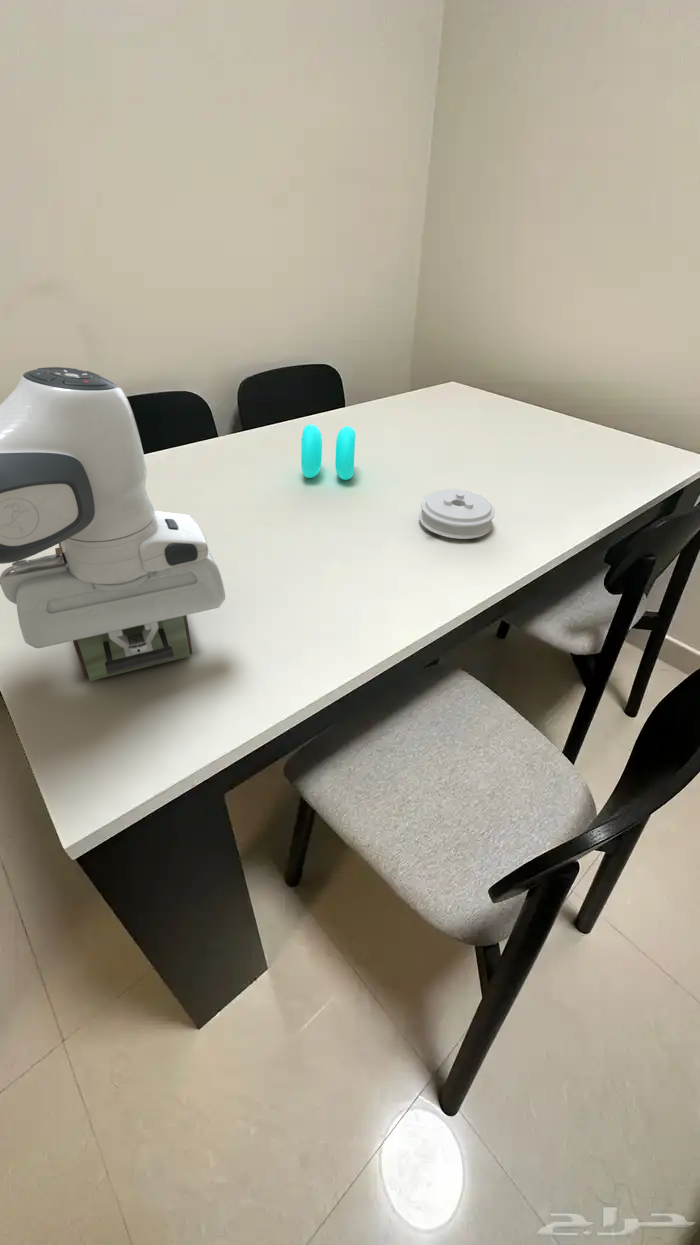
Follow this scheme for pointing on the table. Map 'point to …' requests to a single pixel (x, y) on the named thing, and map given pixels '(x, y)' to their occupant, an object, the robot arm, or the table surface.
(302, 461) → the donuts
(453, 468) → the table surface
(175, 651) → the drawer
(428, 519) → the white grooved pulley wheel
